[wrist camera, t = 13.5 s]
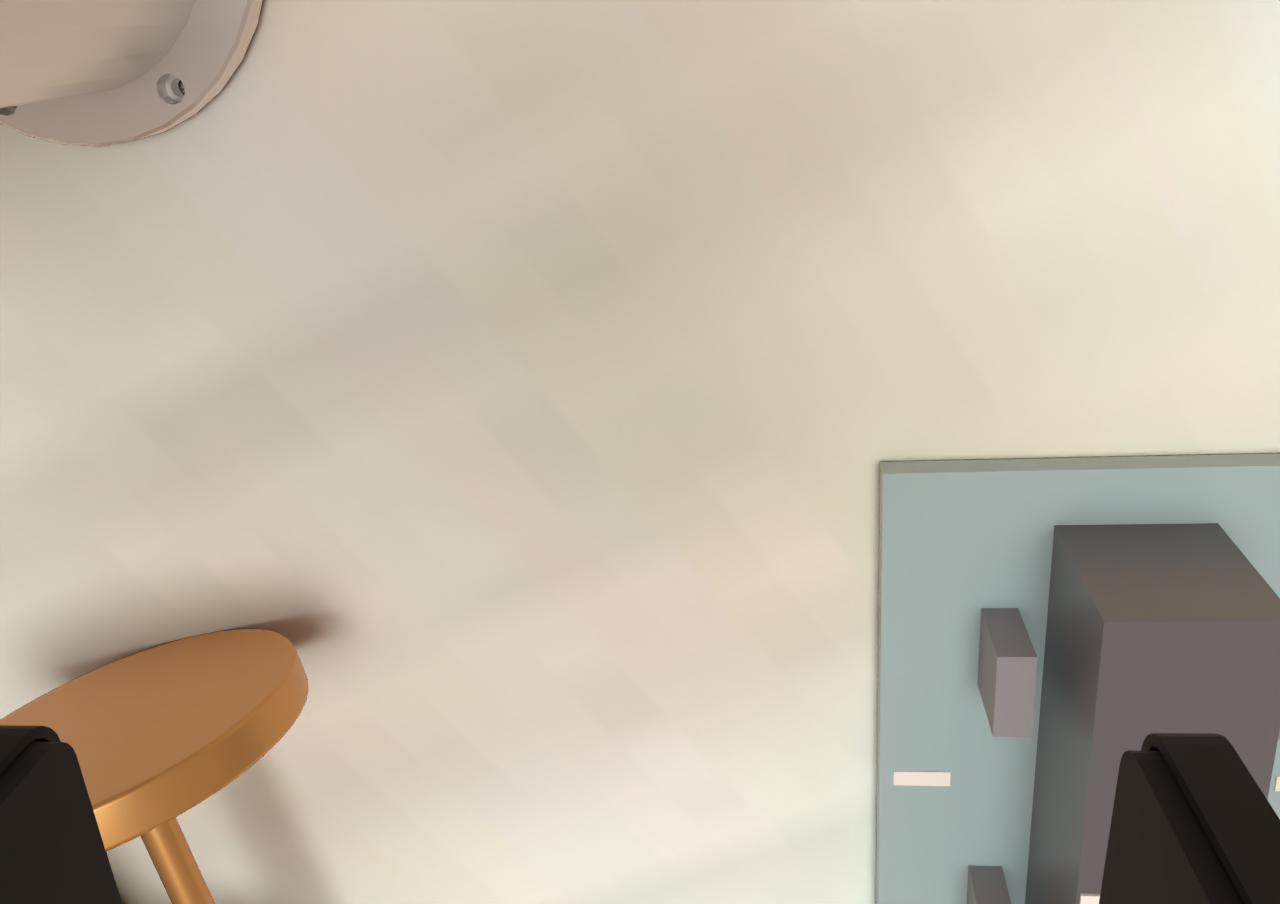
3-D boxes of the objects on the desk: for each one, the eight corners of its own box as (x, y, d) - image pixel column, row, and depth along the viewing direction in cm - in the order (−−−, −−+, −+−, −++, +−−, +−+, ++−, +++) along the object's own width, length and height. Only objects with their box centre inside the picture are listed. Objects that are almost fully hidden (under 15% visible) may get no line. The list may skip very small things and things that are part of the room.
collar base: (874, 998, 46) (883, 1086, 42) (879, 461, 37) (891, 513, 33) (1289, 1014, 44) (1335, 1108, 40) (1401, 450, 35) (1474, 504, 31)
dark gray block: (1054, 524, 36) (1105, 623, 31) (1217, 523, 36) (1300, 623, 30) (1018, 986, 44) (1053, 1132, 38) (1152, 991, 43) (1209, 1141, 38)
